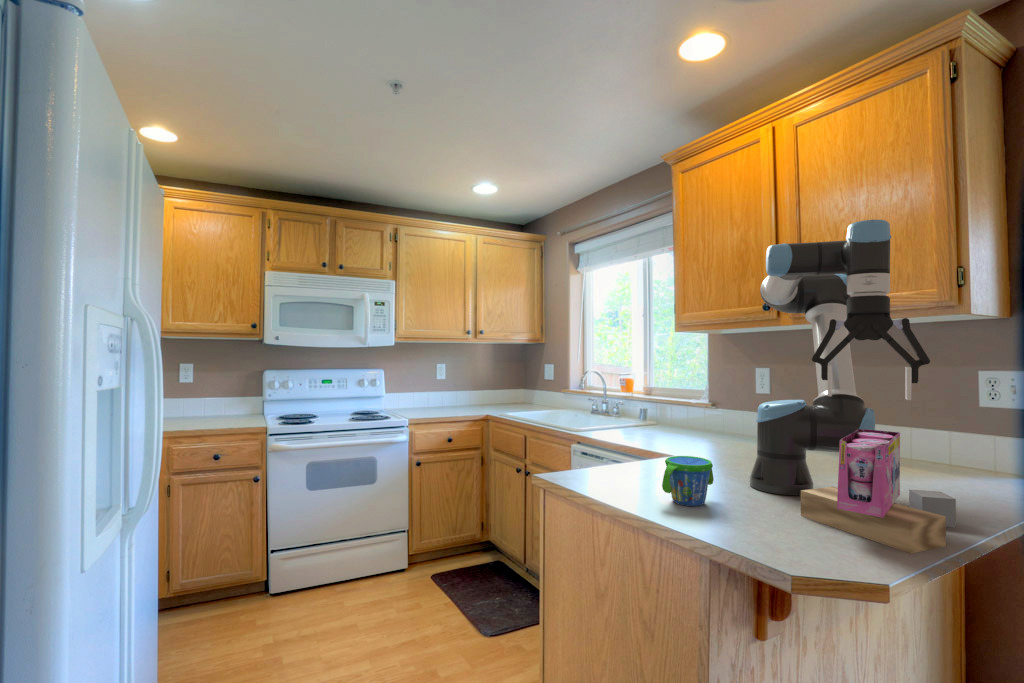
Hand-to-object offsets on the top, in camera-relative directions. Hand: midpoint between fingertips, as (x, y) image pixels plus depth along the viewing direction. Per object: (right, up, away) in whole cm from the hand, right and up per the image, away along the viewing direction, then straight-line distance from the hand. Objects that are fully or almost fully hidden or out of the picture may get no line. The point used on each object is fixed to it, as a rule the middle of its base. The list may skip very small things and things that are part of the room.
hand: (867, 397), depth 110 cm
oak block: (-1, -27, -2) cm, 27 cm away
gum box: (0, -22, -1) cm, 22 cm away
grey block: (+17, -27, +4) cm, 32 cm away
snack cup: (-32, -27, +17) cm, 45 cm away
